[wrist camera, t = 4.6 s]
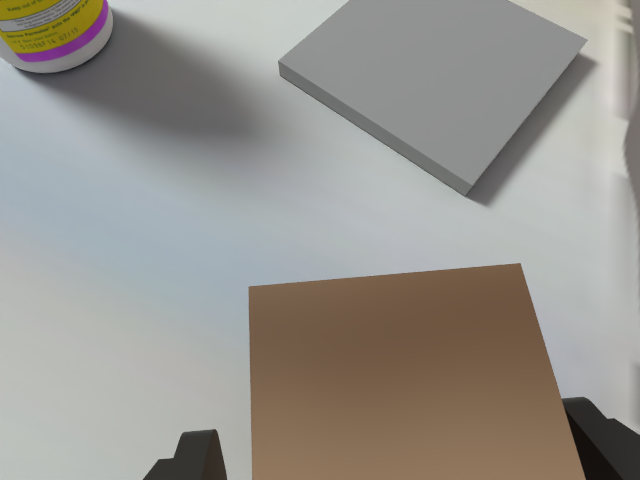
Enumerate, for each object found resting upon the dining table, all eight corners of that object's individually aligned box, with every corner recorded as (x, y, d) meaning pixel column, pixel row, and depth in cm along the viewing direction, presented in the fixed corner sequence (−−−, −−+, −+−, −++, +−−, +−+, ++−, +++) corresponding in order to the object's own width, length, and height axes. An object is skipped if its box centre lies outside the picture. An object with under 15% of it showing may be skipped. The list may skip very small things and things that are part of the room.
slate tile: (464, 196, 19) (472, 185, 18) (279, 75, 22) (278, 60, 21) (577, 54, 23) (587, 39, 22) (404, -33, 26) (407, -50, 25)
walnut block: (433, 485, 15) (625, 609, 5) (296, 499, 14) (255, 652, 5) (409, 345, 17) (520, 263, 7) (288, 356, 16) (248, 286, 7)
